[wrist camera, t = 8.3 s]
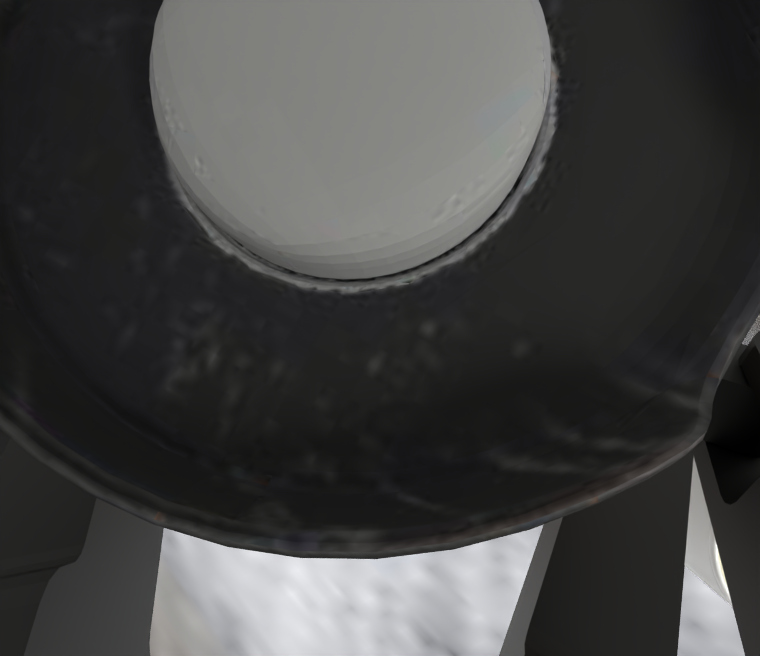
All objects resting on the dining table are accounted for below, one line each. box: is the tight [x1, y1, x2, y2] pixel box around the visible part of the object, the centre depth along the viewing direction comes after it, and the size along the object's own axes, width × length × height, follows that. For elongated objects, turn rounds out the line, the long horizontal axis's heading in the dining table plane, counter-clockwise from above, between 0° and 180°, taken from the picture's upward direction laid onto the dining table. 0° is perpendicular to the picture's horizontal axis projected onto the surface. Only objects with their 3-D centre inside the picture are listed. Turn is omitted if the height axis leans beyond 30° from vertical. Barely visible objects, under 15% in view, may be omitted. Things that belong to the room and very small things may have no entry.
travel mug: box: [0, 0, 760, 559], centre depth 13 cm, size 8×8×20 cm
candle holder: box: [685, 458, 733, 608], centre depth 31 cm, size 10×10×12 cm
